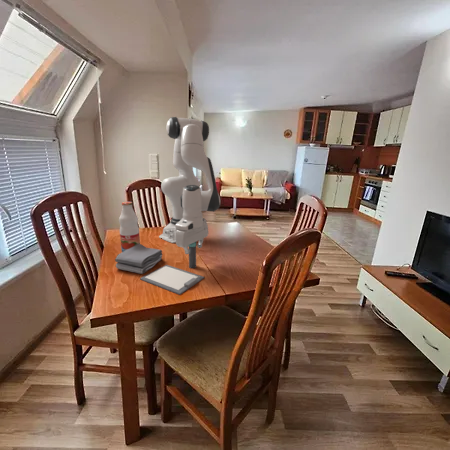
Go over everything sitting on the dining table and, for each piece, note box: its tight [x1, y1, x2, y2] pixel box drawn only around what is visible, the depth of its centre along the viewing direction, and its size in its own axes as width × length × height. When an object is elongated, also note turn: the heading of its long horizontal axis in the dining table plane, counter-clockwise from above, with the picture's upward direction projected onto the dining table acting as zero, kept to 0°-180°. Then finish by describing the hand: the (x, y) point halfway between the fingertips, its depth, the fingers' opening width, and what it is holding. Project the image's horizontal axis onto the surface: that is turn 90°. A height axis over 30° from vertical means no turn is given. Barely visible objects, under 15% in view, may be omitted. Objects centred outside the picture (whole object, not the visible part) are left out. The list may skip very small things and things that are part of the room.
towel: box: [114, 243, 163, 274], centre depth 119 cm, size 15×18×8 cm
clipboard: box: [139, 264, 205, 295], centre depth 107 cm, size 22×16×2 cm
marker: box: [188, 241, 197, 269], centre depth 117 cm, size 4×4×13 cm
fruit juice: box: [118, 201, 141, 253], centre depth 127 cm, size 9×9×28 cm
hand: (193, 250), depth 116 cm, fingers open, 8 cm apart
